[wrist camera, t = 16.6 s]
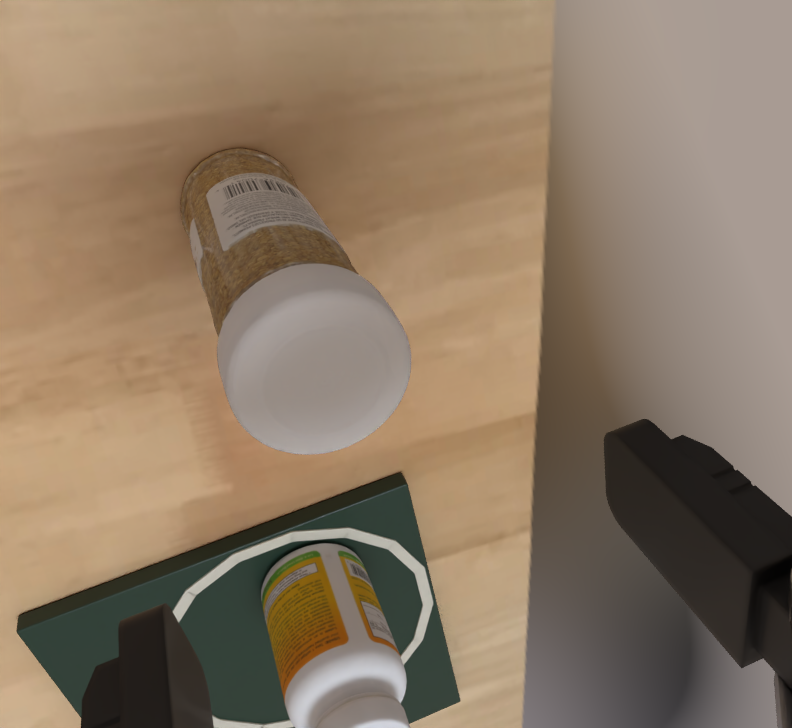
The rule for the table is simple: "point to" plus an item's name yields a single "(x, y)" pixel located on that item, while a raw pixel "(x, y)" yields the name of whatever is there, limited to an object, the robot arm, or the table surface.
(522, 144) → the table surface
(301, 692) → the supplement bottle
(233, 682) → the chalkboard
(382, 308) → the spice jar
